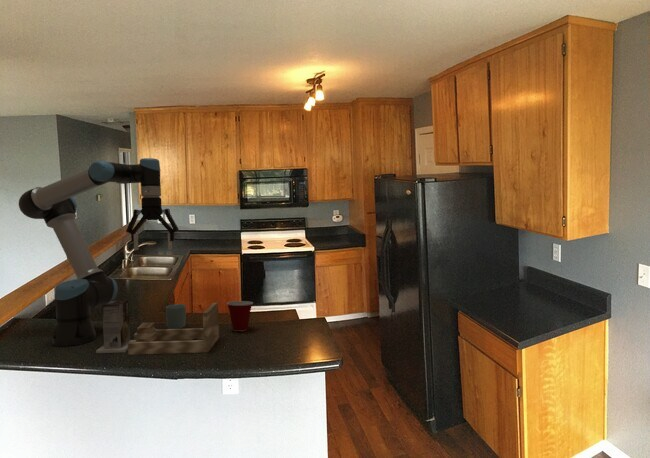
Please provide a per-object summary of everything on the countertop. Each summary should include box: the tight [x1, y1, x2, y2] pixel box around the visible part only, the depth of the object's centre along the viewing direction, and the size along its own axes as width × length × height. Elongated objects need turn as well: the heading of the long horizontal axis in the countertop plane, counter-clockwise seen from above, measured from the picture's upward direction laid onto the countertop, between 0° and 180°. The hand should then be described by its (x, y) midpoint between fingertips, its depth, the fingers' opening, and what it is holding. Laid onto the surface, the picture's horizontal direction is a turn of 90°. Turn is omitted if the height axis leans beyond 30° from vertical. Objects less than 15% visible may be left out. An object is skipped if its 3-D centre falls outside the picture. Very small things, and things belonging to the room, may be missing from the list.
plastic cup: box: [226, 300, 254, 331], centre depth 186 cm, size 11×11×12 cm
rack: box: [127, 302, 220, 356], centre depth 167 cm, size 28×18×14 cm, turn 92°
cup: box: [165, 303, 187, 329], centre depth 190 cm, size 8×8×10 cm
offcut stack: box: [133, 321, 158, 342], centre depth 166 cm, size 5×10×8 cm, turn 2°
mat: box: [95, 339, 136, 354], centre depth 166 cm, size 10×12×1 cm
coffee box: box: [101, 299, 131, 349], centre depth 166 cm, size 9×6×16 cm
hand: (153, 249), depth 182 cm, fingers open, 13 cm apart
